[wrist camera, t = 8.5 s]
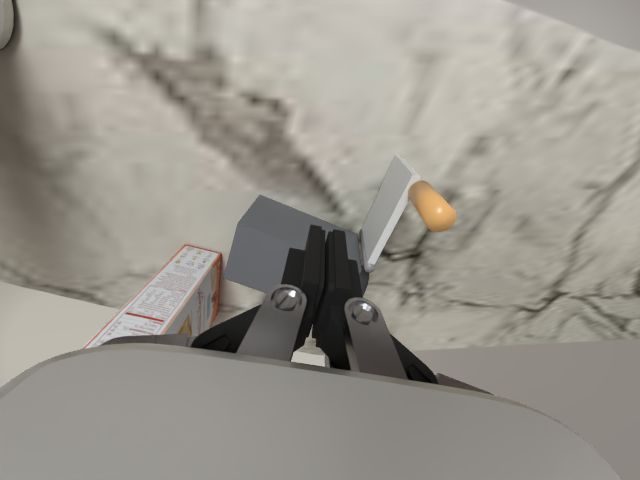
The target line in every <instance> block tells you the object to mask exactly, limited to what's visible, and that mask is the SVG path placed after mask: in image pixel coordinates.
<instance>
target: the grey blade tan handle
mask: <svg viewBox="0 0 640 480" xmlns="http://www.w3.org/2000/svg"><path fill="white" fill-rule="evenodd" d="M420 179H421V177H420V176H419V175H418V174H417V172H416V171H415V170H414V169H413V168H412V167H411V166H410V165H409V164H408V163H407V162H406V161H405V160H404V158H403V157H401V156H398V155H395V157H394V159H393V161H392V163H391V166H390V168H389V170H388V172H387V174H386V177H385V179H384V181H383V183H382V185H381V188H380V190H379V192H378V194H377V196H376V199H375V201H374V203H373V205H372V207H371V210H370V212H369V214H368V216H367V218H366V221H365V223H364V225H363V227H362V229H361V230H360V239H361V246H362V254H363V261H364V268H365V271H366V272H368V273H370V272H373V270H374V265H373V264H375V263H376V261H377V259H378V257H379V255H380V253H381V251H382V250H383V248H384V246H385V244H386V242H387V240H388V238H389V236H390V235H391V233H392V231H393V229H394V227H395V225H396V223H397V222H398V220H399V218H400V216H401V214H402V212H403V210H404V208H405V207H406V205H407V203H408V201H409V199H410V200H411V202H412V203H413V205H414V206H415V208H416V209H417V211H418V213H419V214H420V216H421V217H422V219H423V220H424V222H425V224H426V225H427V227H428V228H429V229H430V230H432V231H435V232H442V231H445V230H447V229H449V228H450V227H451V226H452V225H453V224H454V223H455V221H456V212H455V211H454V209H453V208H452V207H451V206H450V205H449V204H448V203H447V202H446V201H445V200H444V199H443V198H442V197H441V196H440V195H439V194H438V193H437V192H436V191H435V189H434V188H433V187H432V186H431V185H430V184H429V183H428V182H426V181H419V180H420Z"/></svg>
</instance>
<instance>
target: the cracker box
mask: <svg viewBox="0 0 640 480" xmlns="http://www.w3.org/2000/svg"><path fill="white" fill-rule="evenodd" d="M220 266H221V253H217V252H213V251H209V250H205V249H201V248H197V247H193V246H189V245H184V246H183V247H182V248H181V249H180V250H179V251H178V252H177V253H176V254H175V255H174V256H173V257H172V258H171V259H170V260H169V261H168V262H167V263H166V264H165V265H164V266H163V267H162V268H161V269H160V270H159V271H158V272H157V273H156V274H155V275H154V276H153V277H152V278H151V279H150V280H149V281H148V282H147V283H146V284H145V285H144V286H143V287H142V288H141V289H140V290H139V291H138V292H137V293H136V294H135V295H134V296H133V297H132V298H131V299H130V300H129V301H128V302H127V303H126V304H125V305H124V306H123V307H122V308H121V309H120V310H119V311H118V312H117V313H116V314H115V315H114V316H113V317H112V318H111V319H110V320H109V321H108V322H107V323H106V324H105V325H104V326H103V327H102V328H101V329H100V330H99V331H98V332H97V333H96V334H95V335H94V336H93V337H92V338H91V339H90V340H89V341H88V342H87V343H86V344H85V345H84V346H83V347H82V348H81V349H86V348H92V347H97V346H99V345H101V344H102V343H104V342H106V341H108V340H110V339H113V338H117V337H122V336H140V335H162V334H185V333H189V337H190V336H198V335H199V334H201V333H203V332H204V331H206V330H208V329H210V327H211V325H212V323H213V322H214V320H215V318H216V316H217V314H218V313H217V312H218V296H219V281H220Z"/></svg>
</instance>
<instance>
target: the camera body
mask: <svg viewBox="0 0 640 480" xmlns="http://www.w3.org/2000/svg"><path fill="white" fill-rule="evenodd" d="M311 224H312V225H317V226H322V230H326V234H325V242H326V238H327V235H328V232H329V231H331V232H333V229H336V230H341V231H345V235H346V244H347V253H348V259H351V260H356V261H357V264H358V270H359V277H360V283H361V289H362V295H363V294H364V292H365V290H366V288H367V285H368V280H369V273H368V272H366V271H365V268H364V266H363V265H361V263H360V254H359V246H358V237H357V234H355V233H353V232H350V231H348V230H345V229H343V228H340V227H338V226H335V225H333V224H330V223H328V222H326V221H323V220H321V219H318V218H316V217H313V216H311V215H308V214H306V213H303V212H301V211H299V210H296V209H294V208H291V207H289V206H286V205H284V204H281V203H279V202H276V201H274V200H272V199H269V198H267V197H264V196H262V195H259V196H258V198H257V199H256V200H255V202H254V203H253V204H252V205H251V207H250V208H249V209H248V211H247V212H246V213H245V215H244V216H243V217H242V218H241V220H240V221H239V222H238V224H237V228H236V232H235V236H234V239H233V243H232V247H231V251H230V254H229V258H228V262H227V266H226V269H225V273H224V277H223V278H224V279H227V280H230V281H233V282H236V283H239V284H241V285H244V286H247V287H250V288H253V289H256V290H259V291H262V292H264V293H268V292H269V290H270V289H271V288H273V287H275V286H277V285H281V281H282V277H283V273H284V268H285V264H286V260H287V256H288V252H289V248H295V249H300V250H305V246H306V242H307V237H308V233H309V228H310V225H311Z"/></svg>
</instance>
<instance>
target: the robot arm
mask: <svg viewBox="0 0 640 480" xmlns="http://www.w3.org/2000/svg"><path fill="white" fill-rule="evenodd" d="M13 18H14V12H13V6H12V0H0V49H2V48H3V47H4V46H6V44H7V42H8V41H9V39H10V38H11V34H12V30H13ZM325 234H326V230H322V226H317V225H312V224H311V225H310V228H309V233H308V237H307V242H306V246H305V250H300V249H295V248H289V252H288V256H287V260H286V264H285V268H284V273H283V277H282V281H281V285H277V286H275V287H273V288H271V289H270V290H269V292H268V293H267V295H266V297H265V299H264V301H263V303H262V304H261V305H258V306H256V307H254V308H252V309H250V310H248V311H246V312H244V313H242V314H239V315H237V316H235V317H233V318H231V319H229V320H227V321H225V322H223V323H221V324H218V325H216V326H214V327H212V328H210V329H208V330H206V331H204V332H203V333H201V334H199V335H198V336H190V337H189V333H185V334H162V335H140V336H122V337H117V338H113V339H110V340H108V341H106V342H104V343H102V344H101V345H99V346H97V347H92V348H86V349H80V350H77V351H73V352H69V353H65V354H62V355H59V356H55V357H53V358H50V359H48V360H45V361H43V362H41V363H38V364H36V365H35V366H33V367H31V368H29V369H27V370H26V371H24V372H22V373H21V374H20V375H18V376H16V377H15V378H13V379H12V380H11V381H9V382H8V383H6V384H5V385H4V386H2V387H1V388H0V480H621V479H620V478H619V477H618V476H617V474H616V473H615V472H614V471H613V469H612V468H611V467H610V466H609V465H608V464H607V462H606V461H605V460H604V459H603V458H602V456H601V455H600V454H599V453H598V452H597V451H596V450H595V449H594V448H593V447H592V446H591V445H590V443H588V442H587V441H586V440H585V439H584V438H583V437H581V436H580V435H579V434H578V433H576V432H575V431H573V430H572V429H570V428H569V427H568V426H566V425H564V424H563V423H561V422H560V421H558V420H556V419H554V418H552V417H550V416H548V415H546V414H545V413H543V412H541V411H539V410H536V409H533V408H531V407H529V406H526V405H524V404H521V403H519V402H516V401H512V400H509V399H506V398H502V397H499V396H495V395H493V394H491V393H489V392H487V391H484V390H481V389H479V388H476V387H474V386H471V385H469V384H466V383H463V382H461V381H458V380H455V379H453V378H450V377H448V376H445V375H443V374H440V373H438V374H437V375H434V374H433V372H432V371H431V370H430V369H429V368H428V367H427V366H426V365H425V364H424V363H423V362H422V361H420V360H419V359H418V358H417V357H416V356H415V355H414V354H413V353H412V352H410V351H409V350H408V349H407V348H406V347H405V346H404V345H402V344H401V343H400V342H399V341H398V340H397V339H396V338H394V337H393V336H392V335H391V334H390V333H389V331H388V328H387V326H386V323H385V321H384V318H383V316H382V313H381V311H380V310H379V308H378V307H377V306H376V305H375V304H374V303H372V302H371V301H369V300H367V299H364V298H363V295H362V289H361V283H360V277H359V270H358V264H357V261H356V260H351V259H348V253H347V244H346V235H345V231H341V230H336V229H333V232H331V231H329V232H328V235H327V238H326V242H325ZM312 324H313V327H312ZM311 327H312V338H315V339H316V347H320V348H321V350H322V351H323V352H324V353H325V354H326V355H325V367H322V366H316V365H309V364H303V363H296V362H291V359H292V356H293V352H294V351H296V350H297V349H299V348H300V347H302V346H303V345H304V343H305V340H306V337H309V334H310V330H311Z"/></svg>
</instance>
